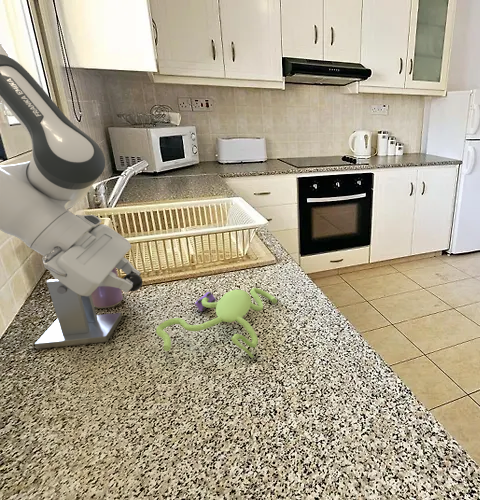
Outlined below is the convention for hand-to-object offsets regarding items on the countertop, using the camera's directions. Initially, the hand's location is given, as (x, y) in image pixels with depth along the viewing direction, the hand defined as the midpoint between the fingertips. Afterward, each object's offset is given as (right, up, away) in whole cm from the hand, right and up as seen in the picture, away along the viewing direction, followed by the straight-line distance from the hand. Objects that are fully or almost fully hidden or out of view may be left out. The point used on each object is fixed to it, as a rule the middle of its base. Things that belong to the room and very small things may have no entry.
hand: (134, 282), depth 74 cm
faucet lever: (-6, -2, -1) cm, 6 cm away
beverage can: (-13, -6, +12) cm, 19 cm away
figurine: (+17, -10, +4) cm, 20 cm away
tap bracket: (-11, -10, +1) cm, 15 cm away
